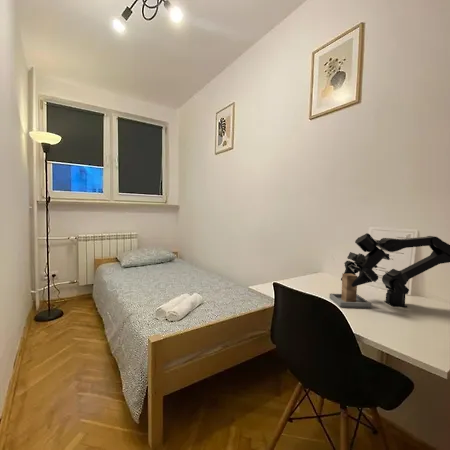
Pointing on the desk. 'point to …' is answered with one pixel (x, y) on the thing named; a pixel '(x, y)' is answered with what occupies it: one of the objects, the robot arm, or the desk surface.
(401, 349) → the desk surface
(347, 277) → the block
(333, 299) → the tray
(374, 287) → the desk surface
